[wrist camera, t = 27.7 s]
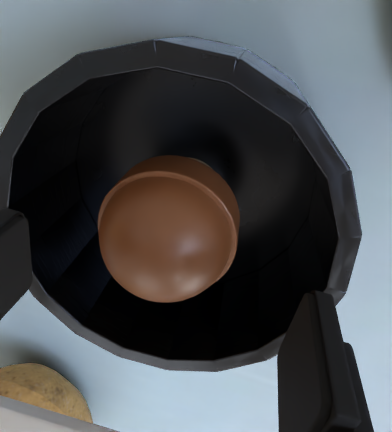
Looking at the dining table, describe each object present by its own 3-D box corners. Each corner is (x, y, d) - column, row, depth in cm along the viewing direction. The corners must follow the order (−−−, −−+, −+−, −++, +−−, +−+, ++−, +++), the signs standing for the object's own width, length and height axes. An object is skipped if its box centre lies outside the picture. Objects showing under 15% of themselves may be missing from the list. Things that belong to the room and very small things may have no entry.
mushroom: (141, 122, 18) (68, 179, 11) (256, 149, 18) (253, 224, 11) (131, 221, 21) (68, 314, 14) (228, 245, 20) (213, 352, 14)
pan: (66, 8, 16) (-36, -3, 11) (380, 76, 16) (447, 103, 10) (66, 255, 24) (4, 326, 18) (281, 310, 23) (287, 403, 17)
